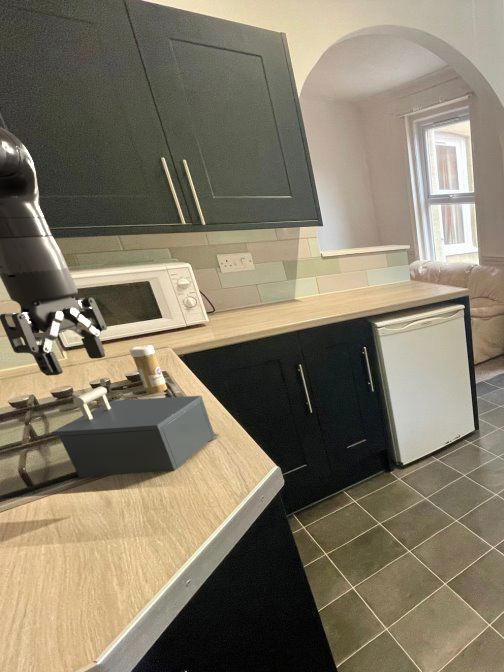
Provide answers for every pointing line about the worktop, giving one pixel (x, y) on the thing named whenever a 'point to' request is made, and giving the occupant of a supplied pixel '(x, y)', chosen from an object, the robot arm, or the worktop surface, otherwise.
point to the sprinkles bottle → (148, 369)
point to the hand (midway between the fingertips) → (77, 365)
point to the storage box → (140, 446)
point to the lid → (124, 414)
